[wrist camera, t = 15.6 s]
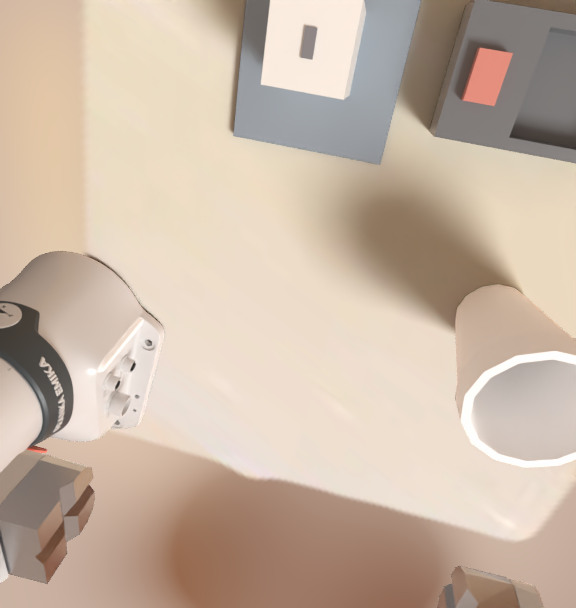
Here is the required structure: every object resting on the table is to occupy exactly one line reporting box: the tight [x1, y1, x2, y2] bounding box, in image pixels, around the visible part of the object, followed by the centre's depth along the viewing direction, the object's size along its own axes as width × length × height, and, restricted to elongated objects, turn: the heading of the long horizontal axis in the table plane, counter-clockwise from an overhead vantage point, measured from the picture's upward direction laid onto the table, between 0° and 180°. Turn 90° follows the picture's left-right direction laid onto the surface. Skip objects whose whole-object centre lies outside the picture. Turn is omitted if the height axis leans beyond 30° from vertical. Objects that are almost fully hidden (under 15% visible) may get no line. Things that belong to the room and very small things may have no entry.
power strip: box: [429, 0, 576, 163], centre depth 29 cm, size 8×12×4 cm, turn 81°
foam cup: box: [455, 284, 576, 467], centre depth 34 cm, size 10×9×13 cm
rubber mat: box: [233, 0, 421, 165], centre depth 32 cm, size 14×12×1 cm
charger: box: [261, 0, 366, 100], centre depth 29 cm, size 5×5×7 cm
